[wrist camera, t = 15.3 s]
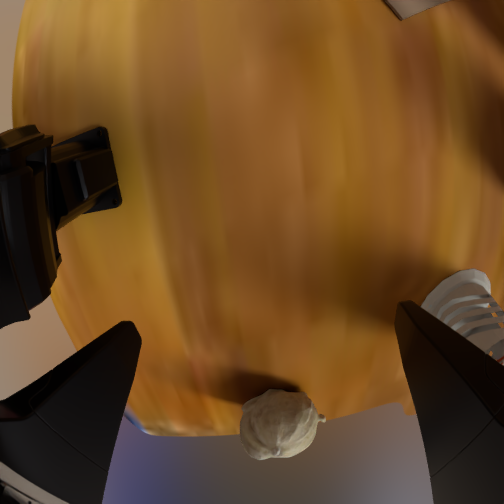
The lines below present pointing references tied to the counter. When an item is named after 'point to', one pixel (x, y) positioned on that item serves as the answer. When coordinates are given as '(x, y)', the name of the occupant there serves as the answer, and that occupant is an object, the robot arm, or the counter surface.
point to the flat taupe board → (411, 6)
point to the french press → (469, 310)
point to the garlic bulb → (278, 424)
